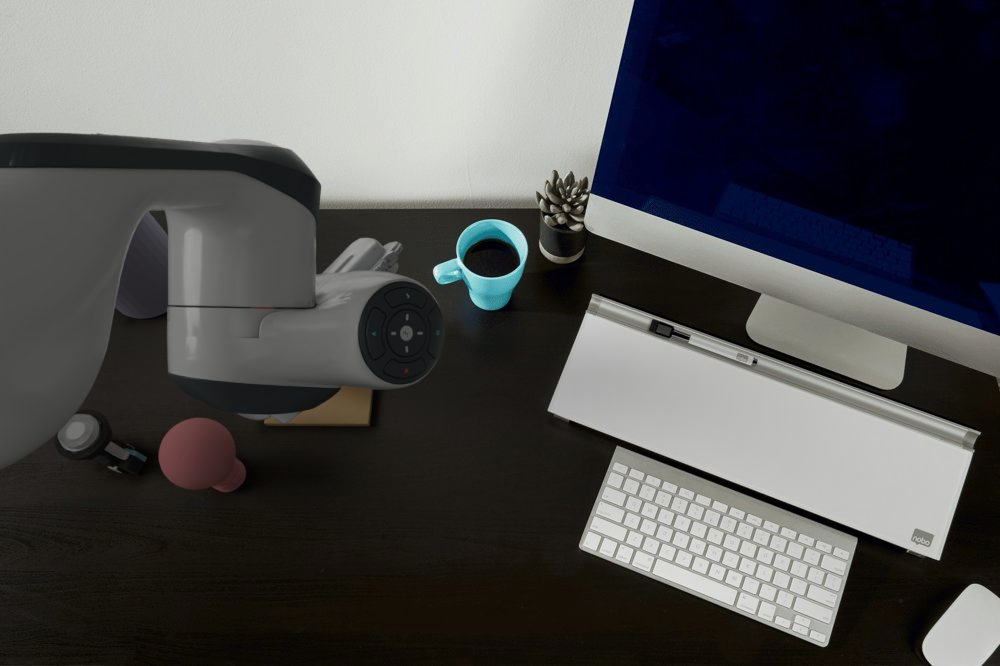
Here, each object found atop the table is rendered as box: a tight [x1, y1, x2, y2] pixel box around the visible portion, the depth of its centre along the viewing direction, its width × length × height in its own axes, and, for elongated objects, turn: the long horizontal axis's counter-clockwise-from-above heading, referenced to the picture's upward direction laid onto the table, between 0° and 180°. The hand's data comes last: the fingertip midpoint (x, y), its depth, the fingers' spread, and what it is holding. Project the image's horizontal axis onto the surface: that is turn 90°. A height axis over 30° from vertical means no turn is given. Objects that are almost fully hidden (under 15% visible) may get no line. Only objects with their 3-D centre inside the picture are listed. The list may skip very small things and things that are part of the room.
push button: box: [54, 408, 148, 476], centre depth 78 cm, size 7×5×10 cm
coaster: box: [263, 386, 375, 427], centre depth 85 cm, size 12×12×1 cm
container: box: [115, 211, 177, 320], centre depth 86 cm, size 10×10×15 cm
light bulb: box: [158, 417, 247, 493], centre depth 75 cm, size 7×7×12 cm
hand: (285, 320), depth 73 cm, fingers closed on bottle, 6 cm apart
